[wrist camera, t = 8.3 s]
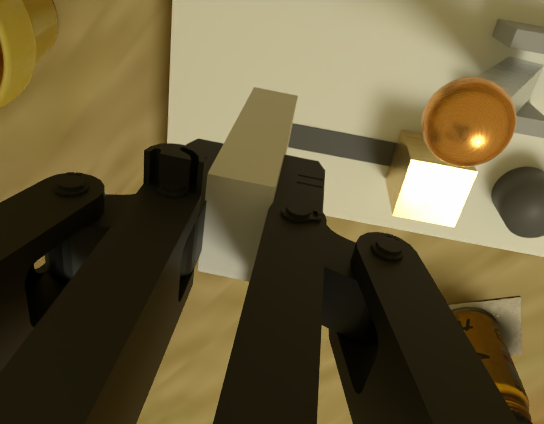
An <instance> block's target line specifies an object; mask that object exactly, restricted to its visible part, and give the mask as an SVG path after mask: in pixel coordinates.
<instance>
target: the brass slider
mask: <svg viewBox="0 0 544 424" xmlns="http://www.w3.org/2000/svg"><path fill="white" fill-rule="evenodd" d="M477 173H478V171H477V170H476V168H475V166H470V167H461V166H455V165H451V164H448V163H446V162H443V161H442V160H440V159H438V158H437V157H436V156H435V155H434V154H433V153H432V152H431V151H430V150H429V149H428V147H427V145H426V144H425V142H424V139H423V136H422V133H418V132H413V131H407V130H402V129H401V132H400V135H399V139H398V142H397V145H396V148H395V151H394V154H393V158H392V161H391V164H390V167H389V170H388V174H387V177H386V180H385V181H386V186H387V191H388V196H389V201H390V206H391V211H392V216H398V217H403V218H408V219H413V220H419V221H424V222H429V223H434V224H440V225H445V226H450V227H455V224H456V222H457V220H458V217H459V215H460V213H461V210H462V208H463V205H464V203H465V201H466V198H467V196H468V194H469V191H470V189H471V187H472V184H473V182H474V180H475V177H476V175H477Z"/></svg>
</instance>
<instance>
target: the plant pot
mask: <svg viewBox="0 0 544 424" xmlns="http://www.w3.org/2000/svg"><path fill="white" fill-rule="evenodd" d="M57 33H58V18H57V13H56V9H55V6H54V4H53V2H52V0H0V108H1V107H3V106H4V105H6V104H7V103H9V102H10V101H12V100H13V99H15V98H16V97H17V96H18V95H19V94H21V93H22V91H23V90H24V89H25V88H26V86H27V85H28V83H29V81H30V80H31V77H32V75H33V72H34V69H35V65H36V64H37V63H38V61H39V60H40V59H41V58H42V57H43V56H44V55H45V54H46V53H47V52H48V50H49V49H50V48H51V47H52V45H53V44H54V42H55V40H56V37H57Z"/></svg>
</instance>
